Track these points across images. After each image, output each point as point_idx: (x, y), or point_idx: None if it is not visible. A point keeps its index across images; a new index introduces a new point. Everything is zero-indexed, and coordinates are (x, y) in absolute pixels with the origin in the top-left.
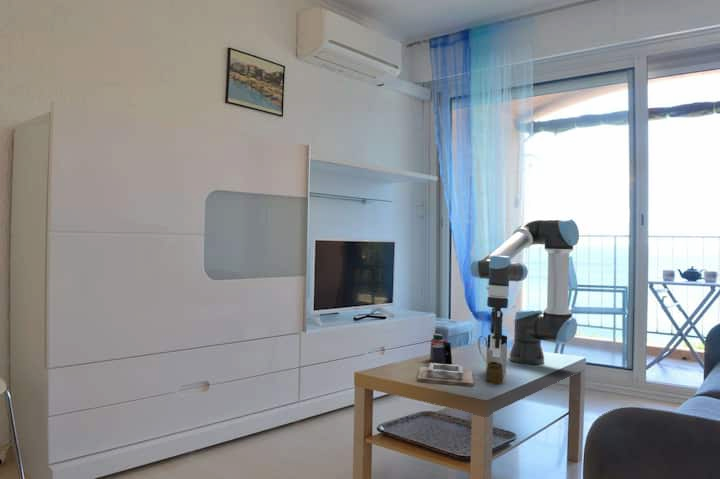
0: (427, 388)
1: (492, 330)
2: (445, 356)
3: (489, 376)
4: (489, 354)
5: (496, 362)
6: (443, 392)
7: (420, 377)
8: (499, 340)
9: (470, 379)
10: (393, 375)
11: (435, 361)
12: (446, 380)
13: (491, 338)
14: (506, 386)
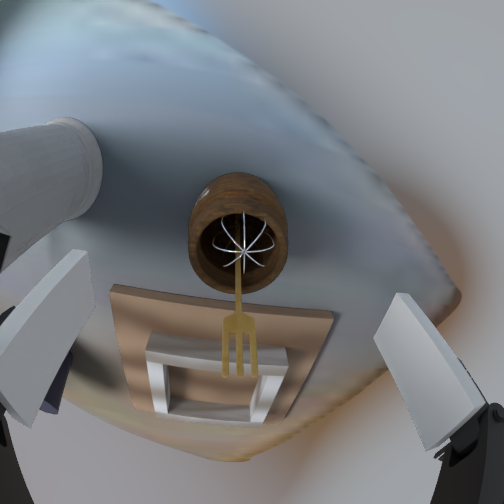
0: (344, 400)
1: (9, 448)
2: None
3: (264, 253)
4: (27, 249)
5: (199, 235)
6: (381, 374)
7: (272, 420)
8: (486, 402)
9: (277, 322)
10: (229, 440)
11: (67, 374)
12: (300, 382)
13: (47, 378)
14: (319, 171)
